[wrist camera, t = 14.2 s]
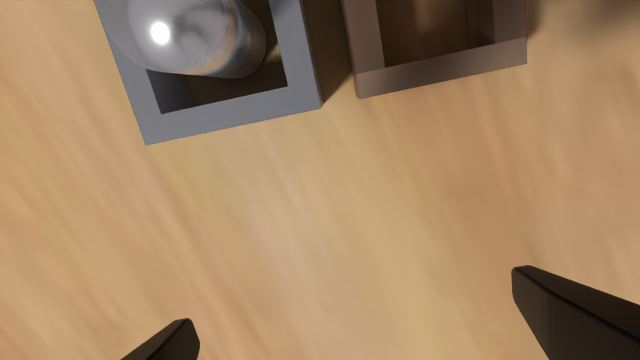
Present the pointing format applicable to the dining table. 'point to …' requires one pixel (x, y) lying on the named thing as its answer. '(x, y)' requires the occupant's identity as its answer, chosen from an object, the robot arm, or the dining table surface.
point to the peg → (187, 35)
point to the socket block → (483, 56)
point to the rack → (186, 120)
